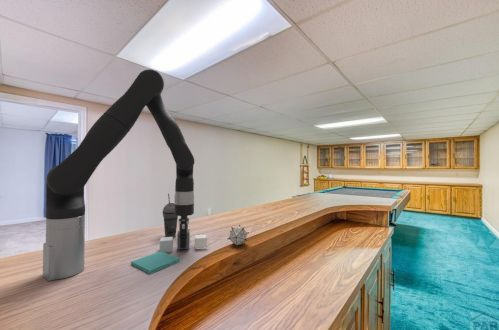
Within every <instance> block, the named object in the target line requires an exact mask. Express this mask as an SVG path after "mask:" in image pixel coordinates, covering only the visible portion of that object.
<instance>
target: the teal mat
mask: <svg viewBox="0 0 499 330" xmlns="http://www.w3.org/2000/svg"><path fill="white" fill-rule="evenodd" d="M179 261H180V262H181V259H180V257H177V256H174V255H171V254H168V252H165V253H164V252H161V251H160V252H159V251H157V252H155V253H151V254H149V255H146V256H144V257H140V258H137V259H135V260H131V261H130V265H131V266H133V267H135V268H136V269H139V270H141V271H143V272H145V273H147V274H148V275H151V274H154V273H155V272H158V271H160V270H163V269H166V268H167V267H170V266H172V265H176V264H178V263H180V262H179Z"/></svg>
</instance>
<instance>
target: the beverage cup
mask: <svg viewBox="0 0 499 330" xmlns="http://www.w3.org/2000/svg"><path fill="white" fill-rule="evenodd" d="M167 195H168V203H167V204H165V205H164V207H163V208H162V212H161V213H162V217H163V226H164V235H165V236H164V237H173V239H174V238H176V236H177V230H178V229H177V228H178V220H179V218H178V217H179V216H176V215H175V214H174V203H173V202H171V199H170V193H168V194H167Z"/></svg>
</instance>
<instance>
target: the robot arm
mask: <svg viewBox="0 0 499 330" xmlns="http://www.w3.org/2000/svg"><path fill="white" fill-rule="evenodd" d="M164 88H165V79H164V77H163V76H162V74H161V73H160V72H159V71H157V70H155V69H144V70H143V71H142V70H141V72H140V73H138V75H137V76H136V78H135V79H134V81H133V82H132V83H131V85H130V86H129V88H128V89H127V90H126V91H125V93H123V94H122V96H120V97H119V98H118V99H117V100H116V101H115V102H114V103H113V104H112V105H110V107H108V109H106V111H104V112H103V114H102V115H100V116H99V118H98V119H97V120H96V121H95V122H94V123H93V124H92V126H91V127H90V129H89V130H88V131H87V133H86V134H85V136H84V137H83V139H82V140H81V143H80V144H79V145H78V146H77V148H75V150H74V151H73V152H71V153H70V154H69V155H68V156H67V157H66V158H65V159H63V161H61V162H59V164H58V165H55V166H54V167H52V168H51V169H50V170H49V171H48V173H47V175H46V181H45V185H46V186H45V189H46V190H45V193H46V194H45V242H44V243H43V244H42V276H43V277H44V278H45V279H46V280H47V281H48V282H51V281H55V280H62V279H66V278H69V277H70V278H71V277H73V276H75V275H77V274H80V273H81V272H83V271H84V269H85V263H86V262H85V250H86V249H85V245H86V244H85V241H86V235H85V234H86V204H85V186H86V184H87V183H88V182H89V180H90V178H91V177H92V175H93V174H94V172H95V170H97V168H98V167H99V166H100V164H101V162H102V161H103V160H104V159H105V158H106V157H107V156H108V155H109V154H111V152H112V151H113V150H114V149H115V148H116V147H117V146H118V145H119V144H120V143H121V142H122V140H124V138H125V137H126V135H127V134H128V133H129V132H130V131H131V130H132V128H133V127H134V125H135V124H136V123H137V120H138V119H139V117H140V115H141V114H142V112H143V111H144V108H145V107H146V108H147V109H148V111H149V112H150V114H151V116H152V117H153V119H154V122H155V123H156V125H157V127H158V129H159V131H160V133H161V135H162V138H163V140H164V141H165V143H166V146H167V147H168V148H169V150H170V153H171V155H172V157H173V160H174V162H175V168H176V169H175V171H176V173H175V174H176V177H175V178H176V179H175V186H174V187H175V189H174V192H175V193H174V214H175V215H176V216H178V217H180V218H178V230H179V232H180V248H186V238H187V232H188V229H189V225H190V218H189V217H188V216H192V215H194V213H195V191H194V189H195V187H194V185H195V183H194V181H195V180H194V165H195V157H194V155H193V153H192V152H191V149H190V148H189V146H188V144H187V142H186V139H185V136H184V135H183V133H182V131H181V128H180V126H179V124H178V123H177V121H176V120H175V119H174V117H173V116H172V115H171V114H170V112H169V111H168V110H167V108H166V106H165V103H164V101H163V97H162V92H163V90H164ZM182 233H185V235H182Z"/></svg>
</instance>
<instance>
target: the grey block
mask: <svg viewBox="0 0 499 330" xmlns="http://www.w3.org/2000/svg"><path fill="white" fill-rule="evenodd" d="M159 239H160V240H159V251H158V252H160V251H161V252H164V253H172V252H173V249H174V238H173V237H165V236H162V237H160V238H159Z"/></svg>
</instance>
